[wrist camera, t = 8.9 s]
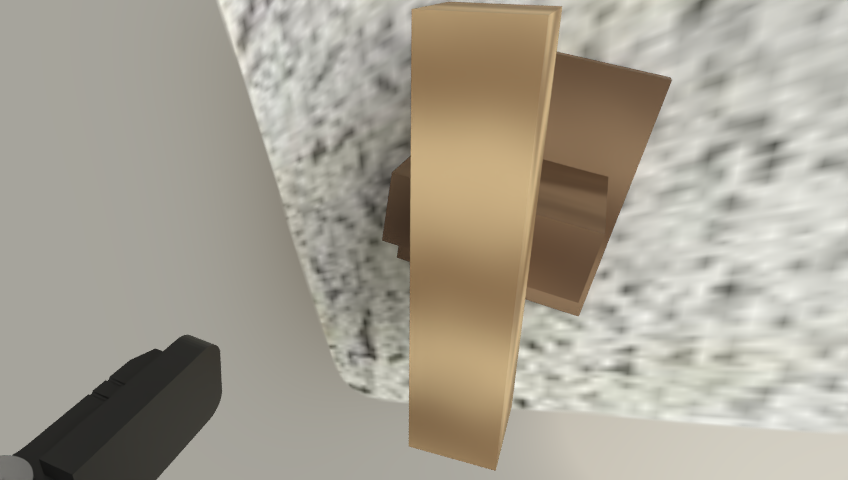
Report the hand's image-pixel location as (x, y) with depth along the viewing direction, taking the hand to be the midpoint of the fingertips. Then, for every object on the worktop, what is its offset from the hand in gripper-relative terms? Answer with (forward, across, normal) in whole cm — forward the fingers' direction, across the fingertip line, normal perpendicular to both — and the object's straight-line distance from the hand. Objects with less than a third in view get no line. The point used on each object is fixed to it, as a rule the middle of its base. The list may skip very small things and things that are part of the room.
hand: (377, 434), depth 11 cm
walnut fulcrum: (+17, 0, 0) cm, 17 cm away
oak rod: (+10, 0, 0) cm, 10 cm away
